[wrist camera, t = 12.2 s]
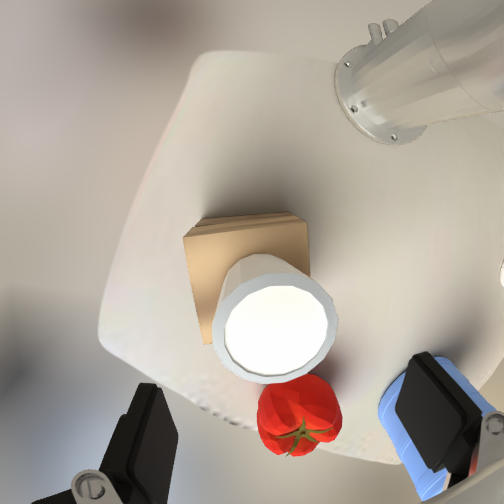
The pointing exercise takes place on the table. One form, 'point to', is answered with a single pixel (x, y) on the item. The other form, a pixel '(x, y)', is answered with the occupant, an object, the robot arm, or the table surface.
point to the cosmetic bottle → (502, 275)
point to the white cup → (272, 321)
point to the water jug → (406, 450)
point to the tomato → (298, 415)
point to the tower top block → (238, 256)
